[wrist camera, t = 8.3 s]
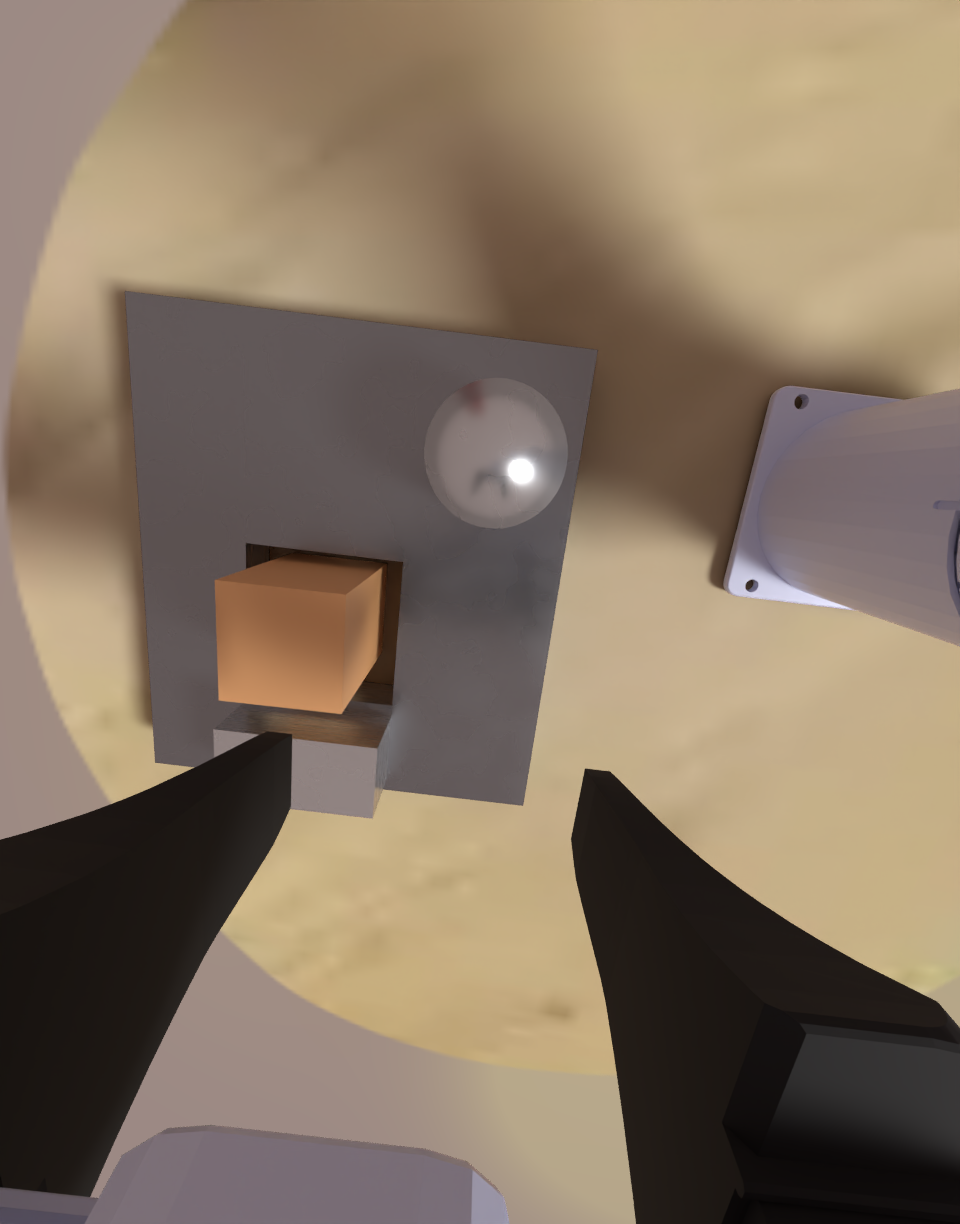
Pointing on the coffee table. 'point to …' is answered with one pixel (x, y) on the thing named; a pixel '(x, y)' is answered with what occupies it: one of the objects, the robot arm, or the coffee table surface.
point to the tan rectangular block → (299, 631)
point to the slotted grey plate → (358, 529)
